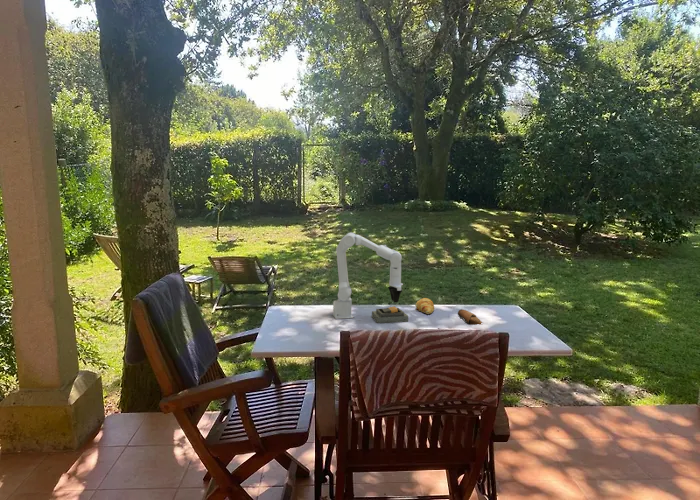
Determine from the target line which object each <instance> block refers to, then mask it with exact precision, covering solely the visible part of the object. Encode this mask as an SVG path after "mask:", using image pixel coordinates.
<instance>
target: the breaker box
mask: <svg viewBox="0 0 700 500" xmlns="http://www.w3.org/2000/svg"><path fill="white" fill-rule="evenodd" d="M385 308H386V307H385ZM385 308H376V309H375V310H373V311H371V318H372V319H373V320H374V321H375V322H376V323H377V324H390V323H392V324H393V323H406V322H407V323H408V322H409V315H408V314H407V313H405V311H403V310H402V309H400V308H399V307H396V308H397V309H398V312H394V313H383V312H382V309H385Z"/></svg>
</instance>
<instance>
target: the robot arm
mask: <svg viewBox="0 0 700 500" xmlns="http://www.w3.org/2000/svg"><path fill="white" fill-rule="evenodd" d="M354 245H355V246H364V247H366V248H368V249H370V250H372V251H374V252H375V253H376V255H377V256H379V257H381V258H383V259H384V260H386V261H389V262H390V265H389V281H388V283H389V284H388V285H389V286H388V287H387V289H388V290H389V293H390V297H391V298H390V299H391V301H392V302H393V303H399V299H400V296H401V293H402V292H403V288H402V286H403V285H404V283H403V282H402V260H403V259H402V258H403V256H402V254H401V253H400V252H399V251H398V250H395V248H394V249H391V248H390V247H388V246H387V244H377V243H374V242H373V241H371V240H369V239H367V238H366V237H363V236H362V235H360V234H356V233H355V232H347V233H346V234H345V235H344V236H343V237H342V238H341V239H340V241H339V243H338V245H337V246H336V249H335V251H336V261H337V262H336V263H337V272H338V273H337V275H338V292H337V299H336V300H333V302H332V303H333V304H332V306H333V307H332V311H333V312H332V316H333V318H335V320H337V319H339V320H340V319H343V320H344V319H353V318H354V316H353V314H352V309H353V308H352V307H353V305H352V298H351V295H352V293H353V292H352V288H351V286H350V282H349V273H348V262H347V250H349V248H351V247H353V246H354Z"/></svg>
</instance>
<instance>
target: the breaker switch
mask: <svg viewBox="0 0 700 500" xmlns="http://www.w3.org/2000/svg"><path fill="white" fill-rule="evenodd" d="M397 308H398V307H396V306H389V307H385V309H384V308H381V309H382V312H383V313H394V312H398V309H397Z"/></svg>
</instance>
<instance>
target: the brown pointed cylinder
mask: <svg viewBox="0 0 700 500" xmlns="http://www.w3.org/2000/svg"><path fill="white" fill-rule="evenodd" d="M457 315H458V316H459V317H460V318H462V319H463V320H464V321H465V322H466V323H467V324H468V325H470V326H473V325H474V326H475V325H477V324H479V325H482V324H481V323H483V322H482V320H480V318H478V317H477V315H476V314H474V313H472V312H471V311H469V310H466V309H462V308H461V309H459V310H458V311H457Z"/></svg>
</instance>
